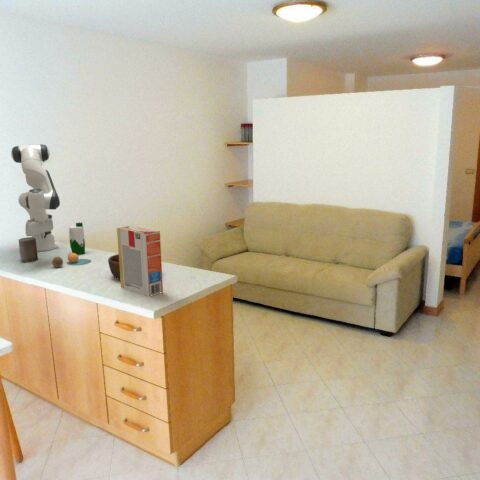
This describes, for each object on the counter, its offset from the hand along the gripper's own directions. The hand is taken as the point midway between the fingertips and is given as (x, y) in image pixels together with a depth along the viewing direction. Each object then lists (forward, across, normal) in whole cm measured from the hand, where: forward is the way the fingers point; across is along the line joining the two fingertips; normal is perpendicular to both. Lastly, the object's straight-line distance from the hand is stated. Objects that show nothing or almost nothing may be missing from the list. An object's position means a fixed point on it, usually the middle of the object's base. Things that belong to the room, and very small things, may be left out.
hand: (40, 240), depth 266 cm
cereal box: (+15, -29, -77) cm, 83 cm away
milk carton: (+15, +32, -2) cm, 35 cm away
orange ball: (+12, +10, -14) cm, 21 cm away
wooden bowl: (+15, -7, -61) cm, 63 cm away
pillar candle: (+15, +10, +17) cm, 25 cm away
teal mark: (+15, +12, -16) cm, 25 cm away
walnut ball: (+12, -1, -10) cm, 16 cm away
